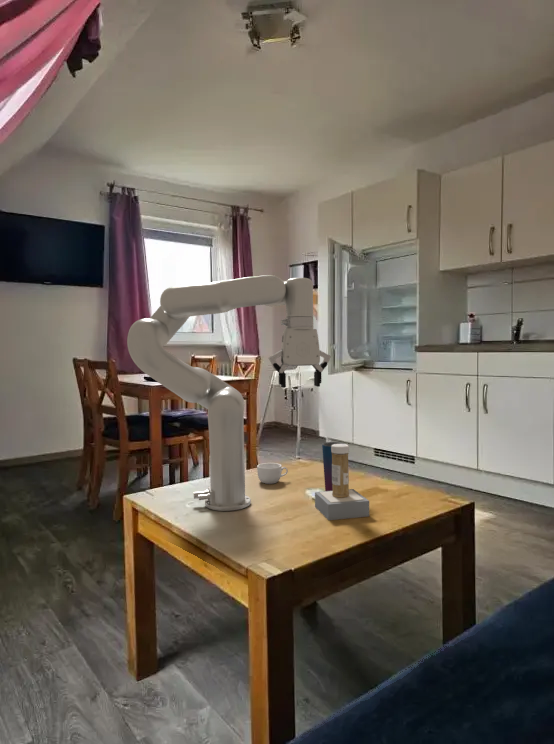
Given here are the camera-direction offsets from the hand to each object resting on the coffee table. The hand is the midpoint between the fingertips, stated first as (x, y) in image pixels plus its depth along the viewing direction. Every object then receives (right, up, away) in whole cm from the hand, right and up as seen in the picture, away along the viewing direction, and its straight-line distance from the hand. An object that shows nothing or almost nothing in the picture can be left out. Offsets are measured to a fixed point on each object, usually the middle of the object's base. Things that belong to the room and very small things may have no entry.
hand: (300, 386), depth 141 cm
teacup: (-8, -31, +24) cm, 40 cm away
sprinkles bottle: (+10, -29, -6) cm, 31 cm away
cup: (+10, -32, +8) cm, 35 cm away
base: (+10, -33, -6) cm, 35 cm away
